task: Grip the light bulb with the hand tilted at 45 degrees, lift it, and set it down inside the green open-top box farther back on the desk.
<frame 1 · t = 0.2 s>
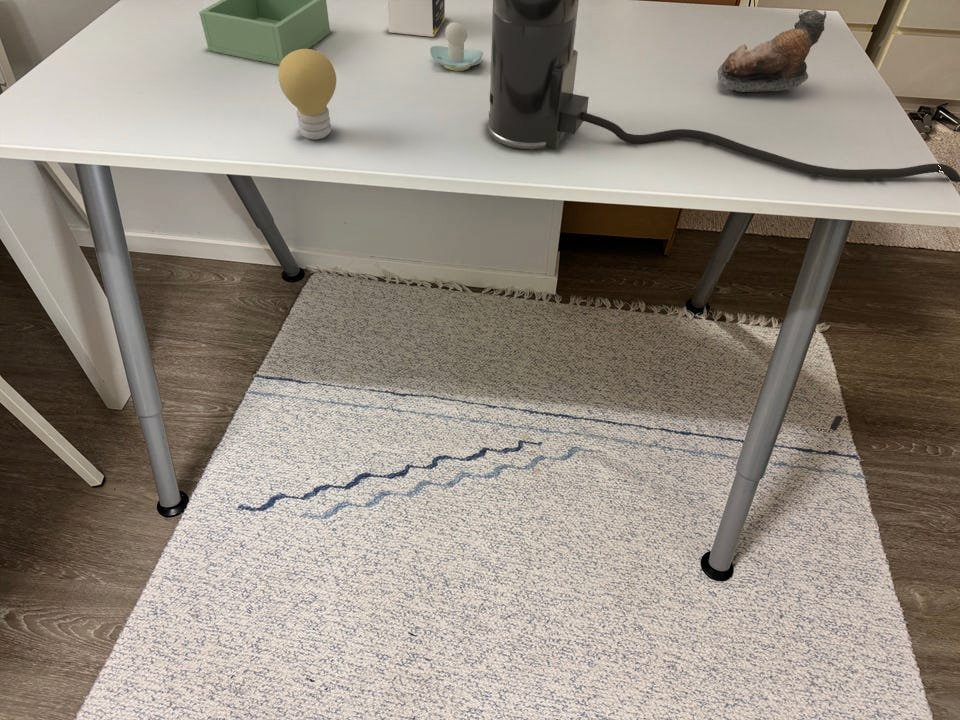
green open-top box: (270, 41, 106), on the table
white box: (417, 27, 111), on the table
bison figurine: (757, 89, 99), on the table
light bulb: (316, 136, 88), on the table
pacifier: (458, 66, 102), on the table
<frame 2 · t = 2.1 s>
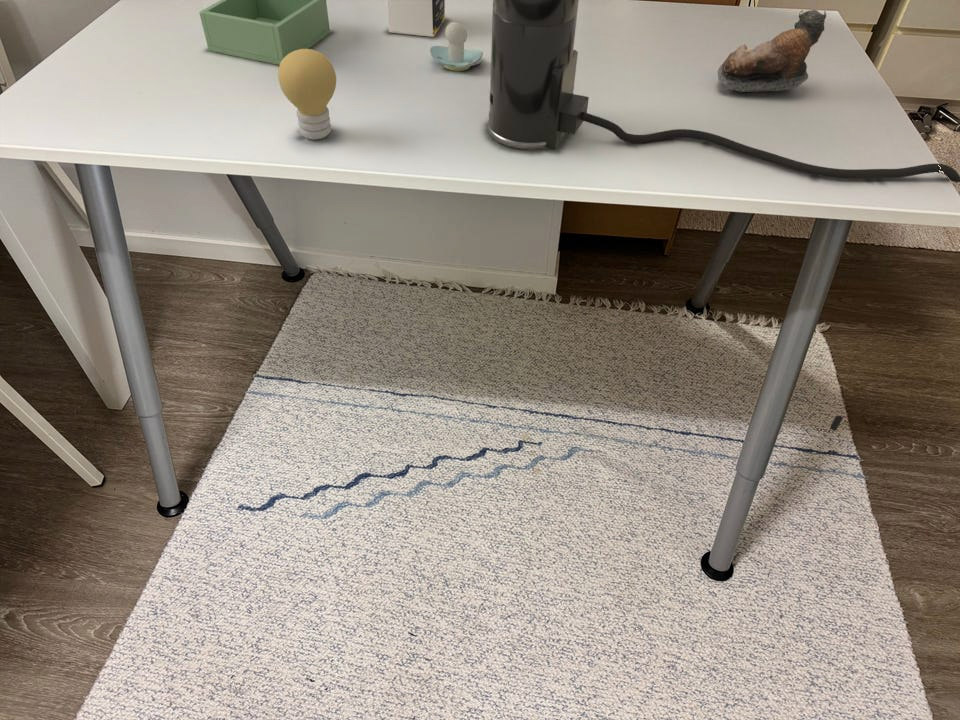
nothing on the table moved.
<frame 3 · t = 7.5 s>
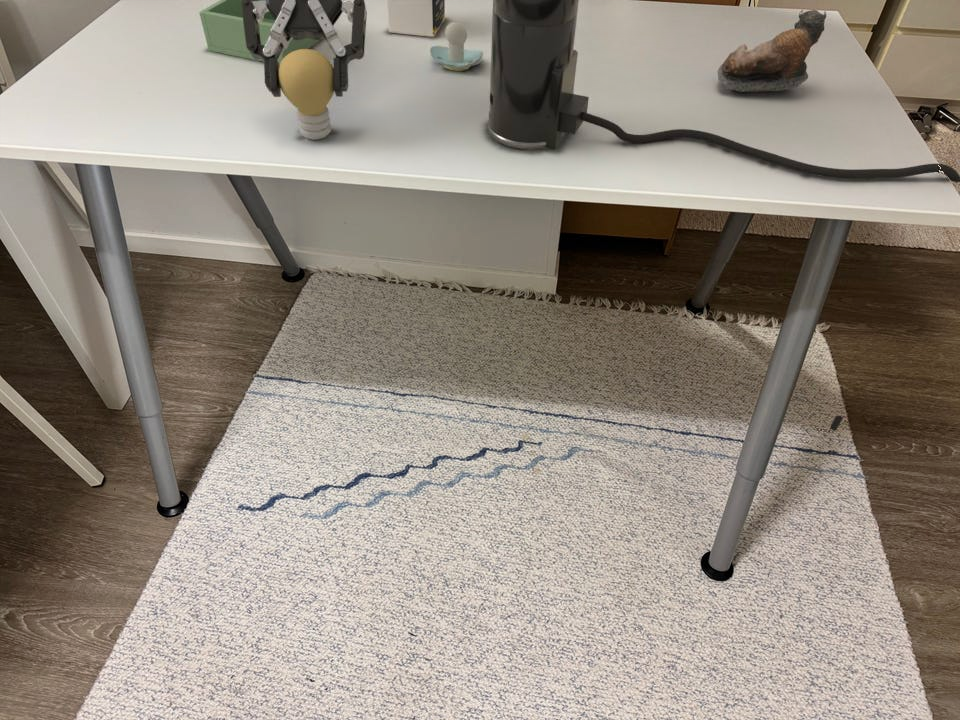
hand: (307, 94, 82), 6 cm above the table, tool tilted 45°, fingers closed on light bulb, 6 cm apart
light bulb: (316, 136, 88), on the table, touching gripper
everything else where it was.
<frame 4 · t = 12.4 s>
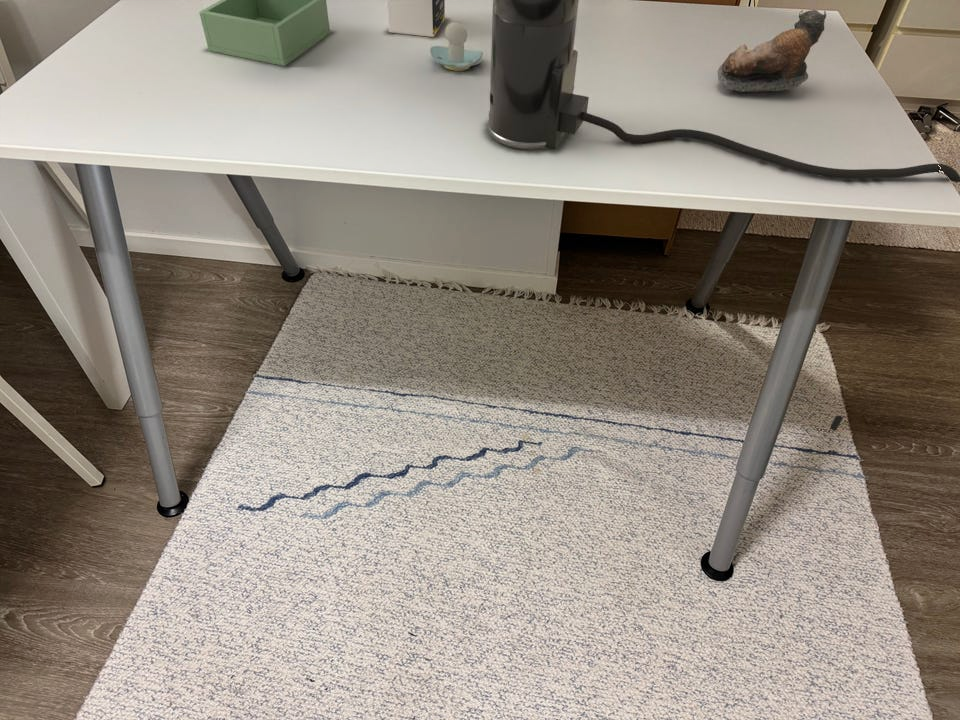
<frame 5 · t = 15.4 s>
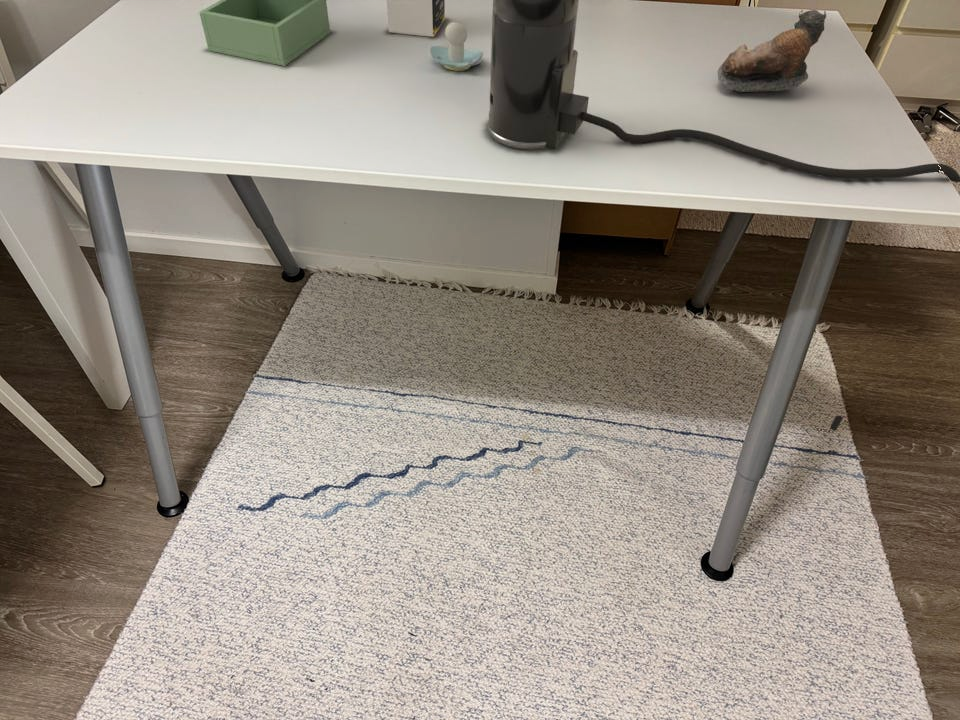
when the fingers open (7 cm above the table, at t = 17.6 s): light bulb stays where it is, resting on green open-top box.
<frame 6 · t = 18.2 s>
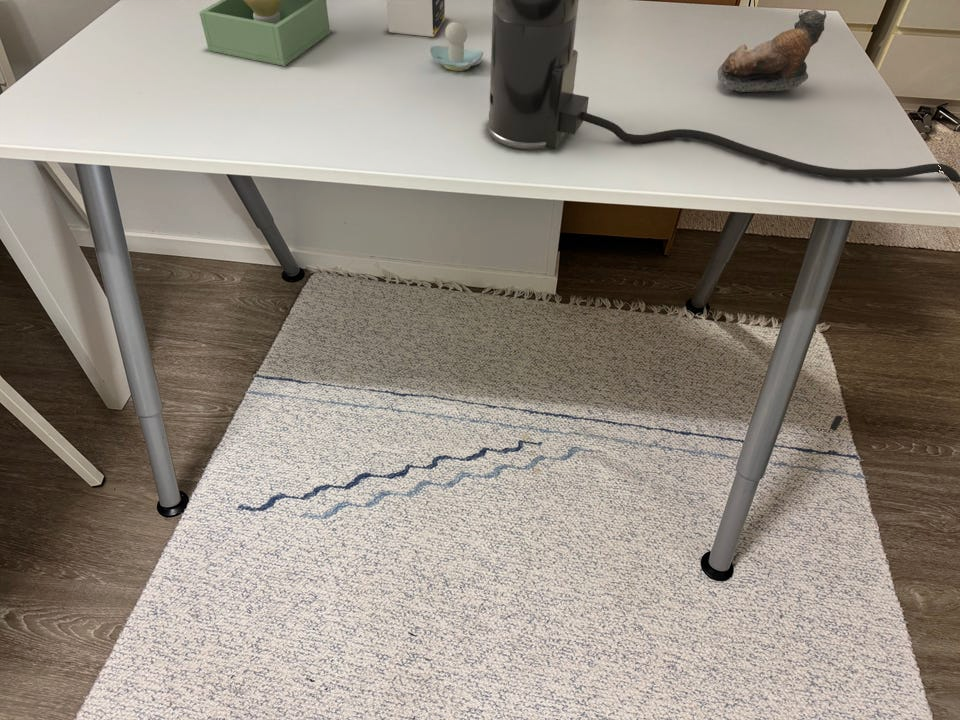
light bulb: (270, 36, 106), point 1 cm above the table, touching green open-top box
everything else where it was.
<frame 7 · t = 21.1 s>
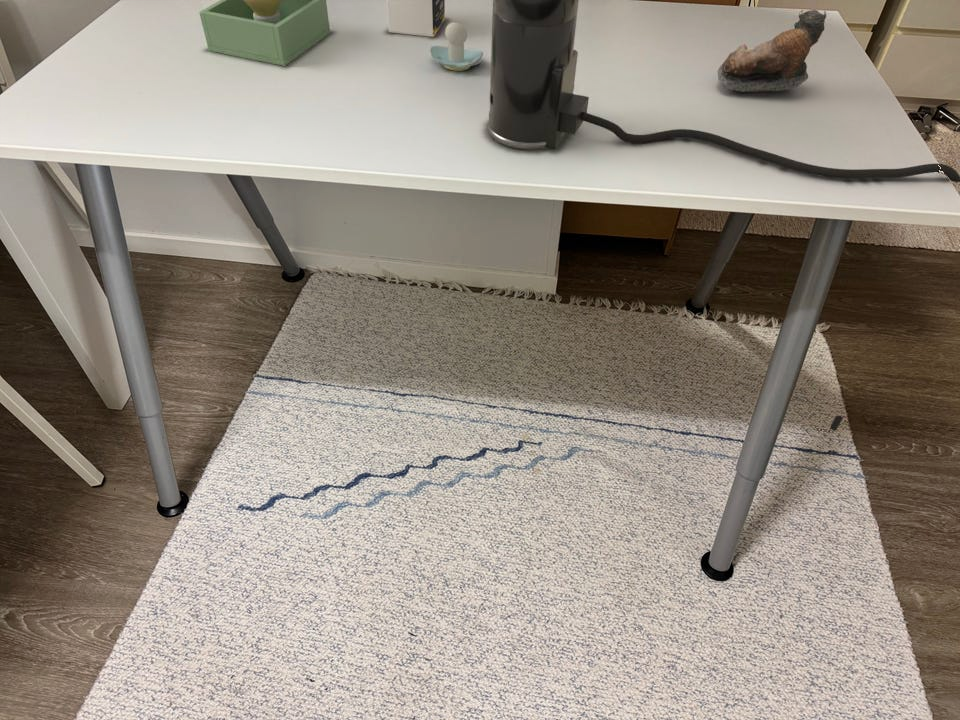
nothing on the table moved.
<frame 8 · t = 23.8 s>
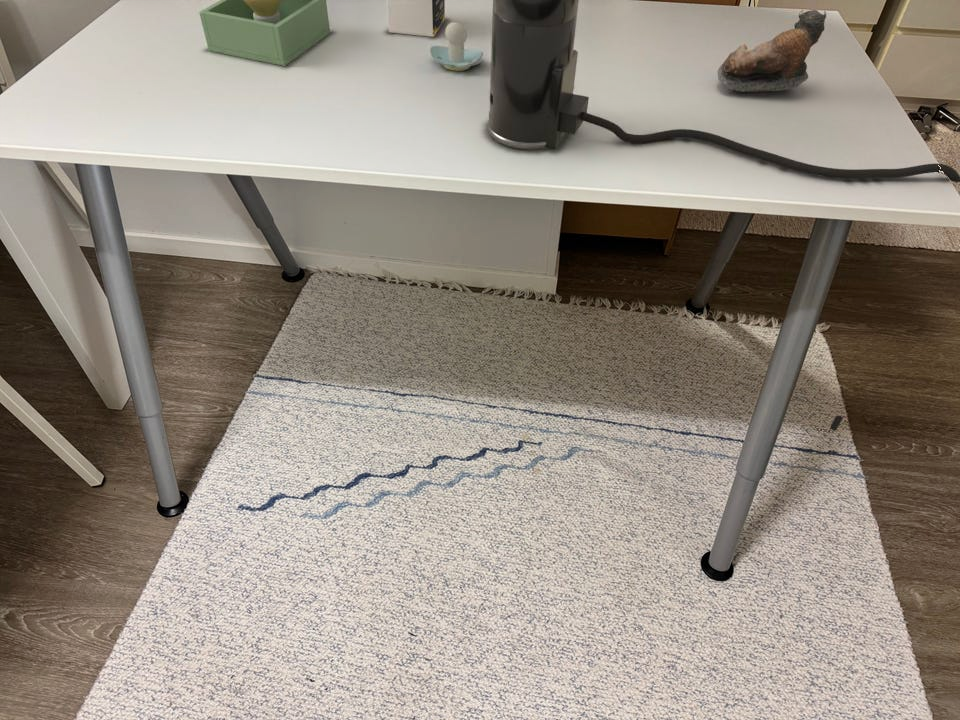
nothing on the table moved.
at the end: light bulb inside the target area in the green open-top box (0.2 cm from its centre), point 0.6 cm above the green open-top box's base; the gripper is holding nothing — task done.
